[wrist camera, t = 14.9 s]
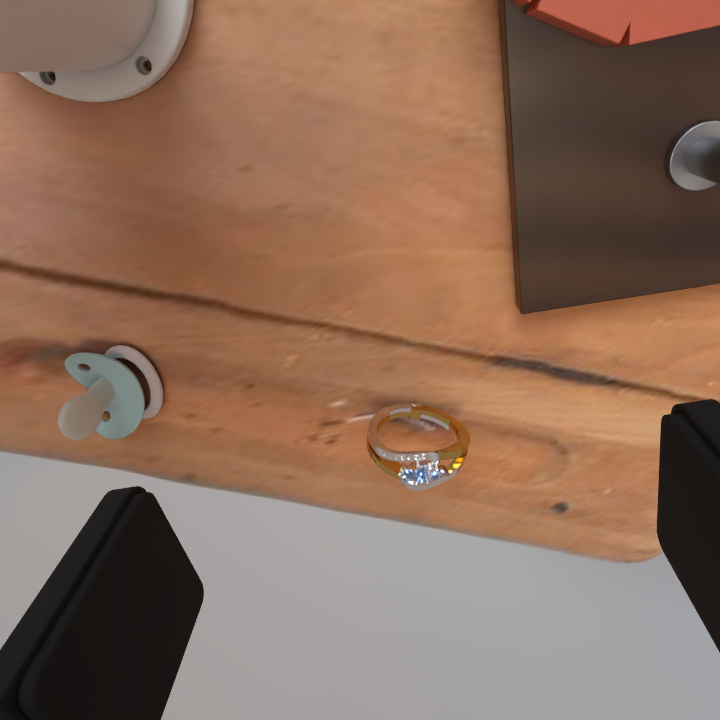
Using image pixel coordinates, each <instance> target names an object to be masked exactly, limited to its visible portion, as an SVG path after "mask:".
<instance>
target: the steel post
mask: <svg viewBox="0 0 720 720" xmlns="http://www.w3.org/2000/svg"><path fill="white" fill-rule="evenodd" d="M665 168H666V172H667V175H668V177H669V179H670V180H671V181H672V182H673V183H674V184H675V185H677V186H679V187H681V188H683V189H686V190H691V191H698V190H704V189H707V188H710V187H712V186H714V185H716V184H720V121H719V120H702V121H699V122H696V123H694V124H692V125H690V126H688V127H687V128H685V129H684V130H683V131H682V132H680V133H679V134H678V135H677V136H676V138H675V139H674V140H673V142H672V143H671V145H670V147H669V149H668V152H667V155H666V160H665Z"/></svg>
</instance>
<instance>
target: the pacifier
mask: <svg viewBox="0 0 720 720" xmlns="http://www.w3.org/2000/svg"><path fill="white" fill-rule="evenodd" d="M116 358H124V359H127V360H129V361H131V362H132V363H134V364H135V365H136V366H137V367H138V368H139V369H140V370H141V371H142V373H143V374H144V376H145V377H146V379H147V382H148V384H149V387H150V392H151V400H150V404H149V405H148V406H147V407H145V399H144V393H143V389H142V387H141V384H140V382H139V380H138V379H137V377H136V376H135V374H134V373H133V372H132V371H131V370H130V369H129V368H128V367H127V366H126V365H124V364H123V363H121V362H120V361H118V360H116ZM79 364H86V365H88V366H89V367H90V368H91V369H83V368H81V367H80V366H79ZM65 368H66V370H67V371H68V373H69V374H70V375H71V376H72V377H73V378H74V379H75V380H76V381H77V382H79V383H80V384H81V385H83V386H85V387H86V388H87V389H88V390H87V392H86V393H85V394H83V395H79V396H76V397H73V398H72V399H70V400H69V401H68V402H66V403H65V405H64V406H63V407H62V409H61V410H60V412H59V416H58V426H59V429H60V431H61V432H62V434H63V435H64V436H66V437H67V438H69V439H72V440H83V439H86V438H88V437H89V436H91V435H92V434H93V433H94V432H95V431H96V432H97V433H98V434H99V435H101V436H102V437H104V438H107V439H113V440H114V439H120V438H124V437H125V436H127V435H129V434H130V433H131V432H133V431H134V430H135V429H136V428H137V427H138V425H139V423H140V422H141V419H148V418H152V417H154V416H155V415H156V414H158V412H159V411H160V409H161V407H162V403H163V389H162V385H161V381H160V378H159V376H158V374H157V372H156V370H155V369H154V367H153V366H152V364H151V363H150V361H149V360H148V359H147V358H146V357H145V356H144V355H143V354H141V353H140V352H138V351H137V350H136V349H133V348H131V347H128V346H123V345H117V346H114V347H111V348H110V349H109V350H108V351H106V353H105V355H102V354H97V353H76V354H73V355H71V356H69V357H68V358H67V359H66V360H65ZM105 410H106V411H108V412H109V413H110V415H111V418H110V420H104V419H103V418H102V413H103V412H104V411H105Z"/></svg>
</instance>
